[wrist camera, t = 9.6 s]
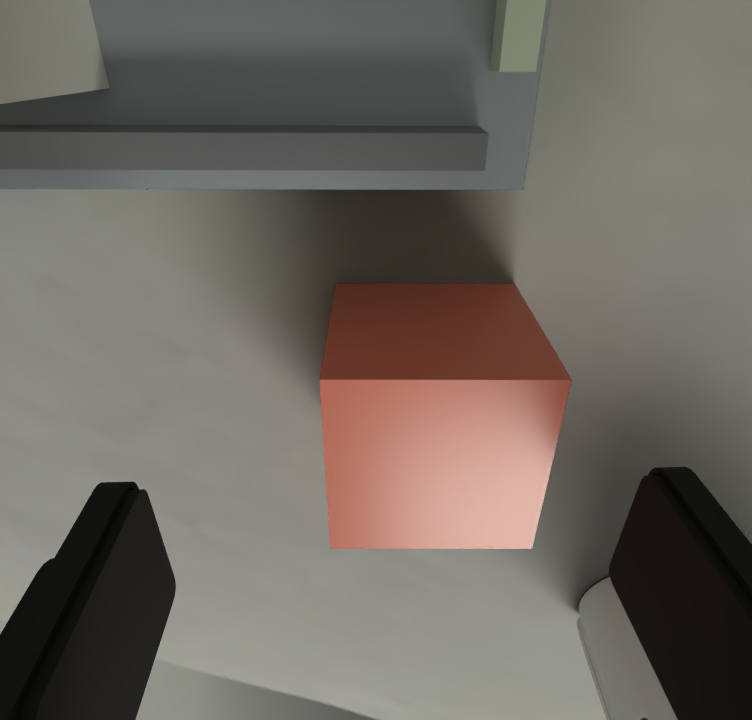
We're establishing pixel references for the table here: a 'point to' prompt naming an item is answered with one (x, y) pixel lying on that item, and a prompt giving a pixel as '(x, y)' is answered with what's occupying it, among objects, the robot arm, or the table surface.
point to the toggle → (48, 50)
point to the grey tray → (292, 98)
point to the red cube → (437, 416)
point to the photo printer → (619, 659)
